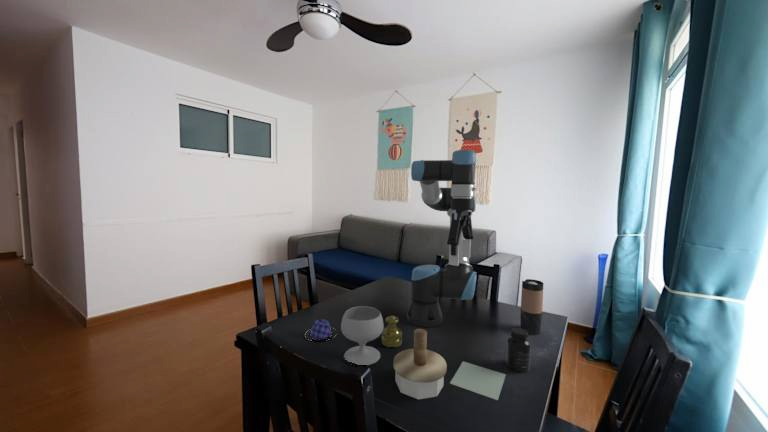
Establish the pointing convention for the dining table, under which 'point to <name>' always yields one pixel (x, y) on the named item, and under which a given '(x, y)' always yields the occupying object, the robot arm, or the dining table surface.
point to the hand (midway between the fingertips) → (460, 261)
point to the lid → (420, 361)
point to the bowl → (419, 387)
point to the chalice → (362, 333)
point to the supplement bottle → (518, 351)
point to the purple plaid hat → (320, 329)
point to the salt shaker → (392, 333)
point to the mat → (479, 380)
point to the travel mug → (531, 306)
